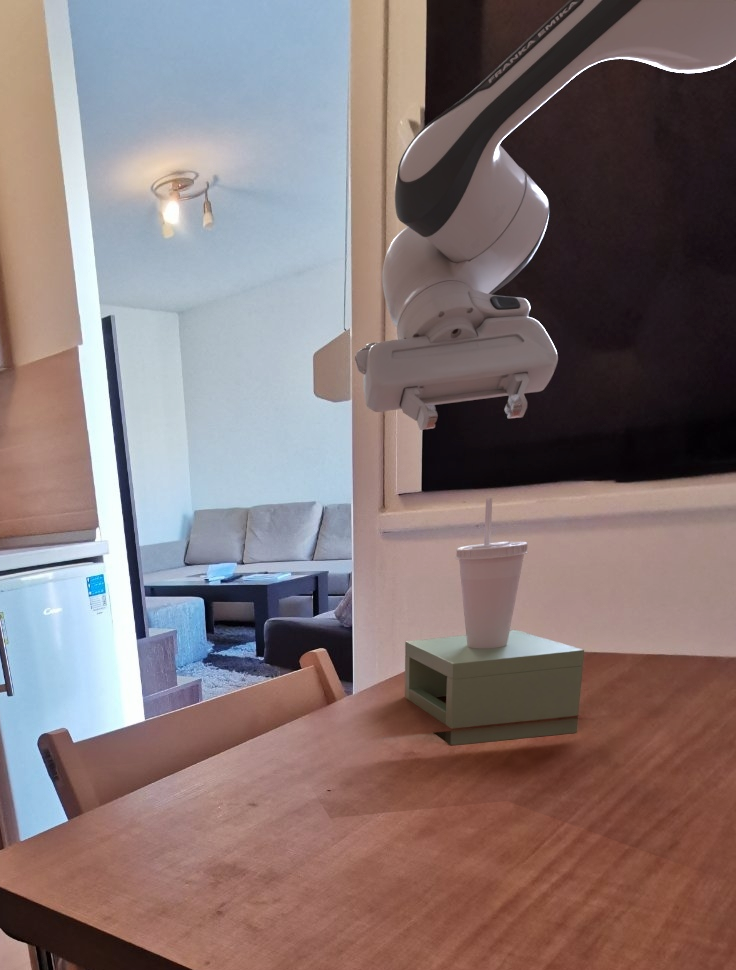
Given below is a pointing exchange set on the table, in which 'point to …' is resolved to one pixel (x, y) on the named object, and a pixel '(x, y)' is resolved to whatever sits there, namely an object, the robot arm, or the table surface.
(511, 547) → the smoothie
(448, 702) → the shelf
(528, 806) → the table surface
